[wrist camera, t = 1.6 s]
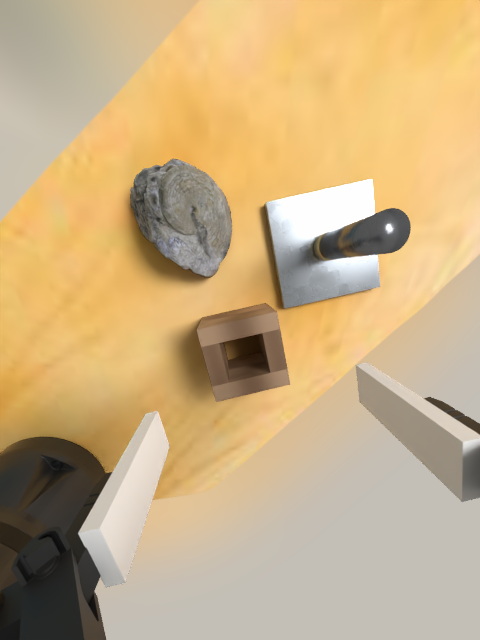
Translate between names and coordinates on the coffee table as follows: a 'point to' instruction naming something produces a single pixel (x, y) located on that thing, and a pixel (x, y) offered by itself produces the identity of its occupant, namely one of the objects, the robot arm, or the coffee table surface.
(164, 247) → the fossilized seashell
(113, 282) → the coffee table surface
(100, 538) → the robot arm
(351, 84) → the coffee table surface
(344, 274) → the knob on metal plate
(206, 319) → the collar
